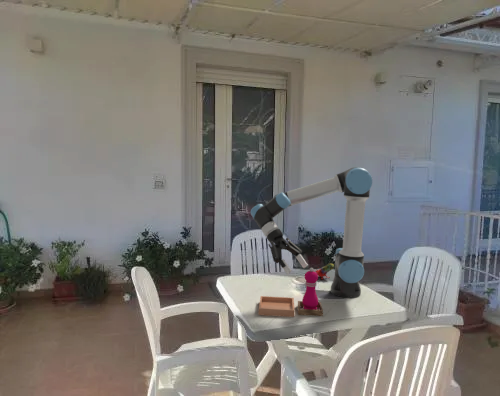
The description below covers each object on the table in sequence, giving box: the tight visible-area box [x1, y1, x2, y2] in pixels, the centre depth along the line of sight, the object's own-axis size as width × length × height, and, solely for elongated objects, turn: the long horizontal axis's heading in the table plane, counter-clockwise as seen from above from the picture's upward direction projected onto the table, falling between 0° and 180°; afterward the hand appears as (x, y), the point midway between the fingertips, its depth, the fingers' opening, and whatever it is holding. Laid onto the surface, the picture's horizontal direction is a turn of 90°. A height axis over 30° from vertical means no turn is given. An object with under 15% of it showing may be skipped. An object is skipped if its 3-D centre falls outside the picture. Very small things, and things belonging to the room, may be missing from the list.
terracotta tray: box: [257, 295, 295, 318], centre depth 179 cm, size 16×16×3 cm
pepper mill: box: [301, 267, 319, 310], centre depth 177 cm, size 7×7×20 cm
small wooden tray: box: [297, 300, 324, 317], centre depth 178 cm, size 11×11×2 cm
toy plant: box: [314, 262, 335, 280], centre depth 227 cm, size 8×10×12 cm
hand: (297, 269), depth 181 cm, fingers open, 13 cm apart
